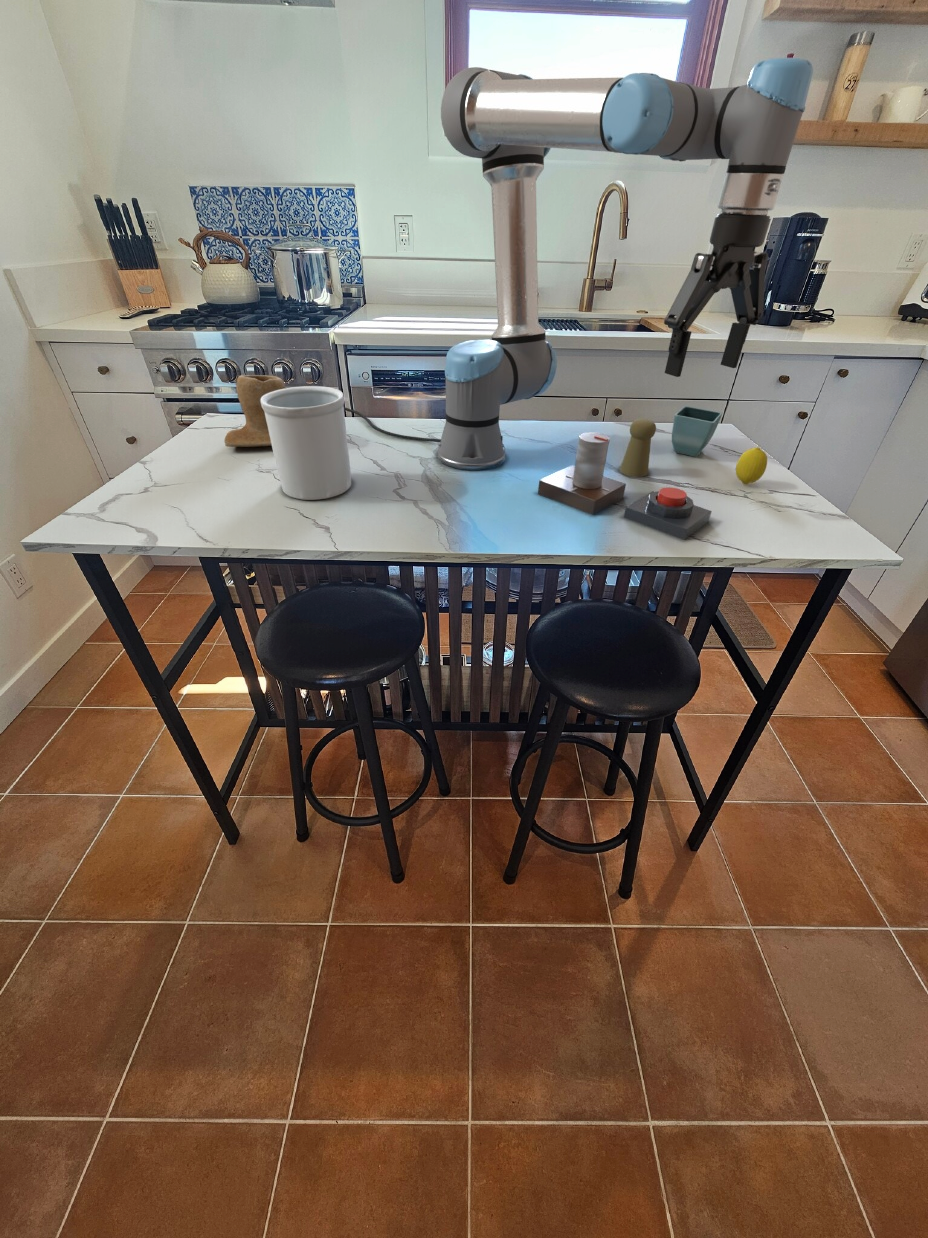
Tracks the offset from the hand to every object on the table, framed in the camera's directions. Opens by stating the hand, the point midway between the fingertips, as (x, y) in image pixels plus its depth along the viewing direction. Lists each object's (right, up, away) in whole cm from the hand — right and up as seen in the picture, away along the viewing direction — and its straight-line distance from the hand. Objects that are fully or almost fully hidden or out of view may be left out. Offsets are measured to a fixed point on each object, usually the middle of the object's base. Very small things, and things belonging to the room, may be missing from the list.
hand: (701, 370), depth 92 cm
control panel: (-17, -17, +18) cm, 30 cm away
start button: (-2, -20, +8) cm, 22 cm away
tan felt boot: (-87, 0, +38) cm, 95 cm away
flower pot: (+13, -2, +38) cm, 40 cm away
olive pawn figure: (-3, -9, +28) cm, 30 cm away
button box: (-2, -23, +10) cm, 25 cm away
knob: (-16, -15, +15) cm, 27 cm away
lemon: (+19, -13, +24) cm, 33 cm away
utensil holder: (-70, -15, +19) cm, 74 cm away
